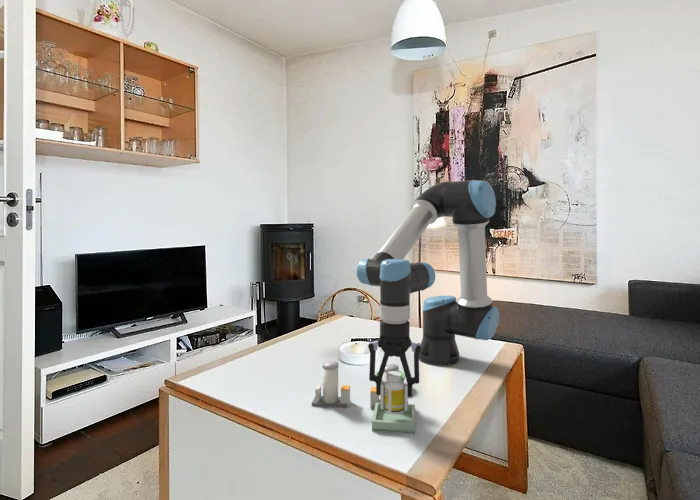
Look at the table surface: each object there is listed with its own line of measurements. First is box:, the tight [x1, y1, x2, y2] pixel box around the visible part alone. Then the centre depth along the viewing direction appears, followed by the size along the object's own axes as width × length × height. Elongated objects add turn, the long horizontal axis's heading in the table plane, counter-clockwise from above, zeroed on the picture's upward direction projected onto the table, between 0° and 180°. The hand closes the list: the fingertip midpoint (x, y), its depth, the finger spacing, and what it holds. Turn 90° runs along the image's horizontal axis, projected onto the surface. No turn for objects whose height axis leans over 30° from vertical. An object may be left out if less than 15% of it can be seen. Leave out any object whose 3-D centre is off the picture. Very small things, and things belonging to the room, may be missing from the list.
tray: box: [371, 402, 416, 435], centre depth 111 cm, size 11×11×2 cm
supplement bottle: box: [384, 371, 405, 414], centre depth 110 cm, size 5×5×10 cm
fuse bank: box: [311, 360, 400, 411], centre depth 120 cm, size 27×5×12 cm, turn 81°
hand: (394, 407), depth 111 cm, fingers closed on supplement bottle, 5 cm apart
